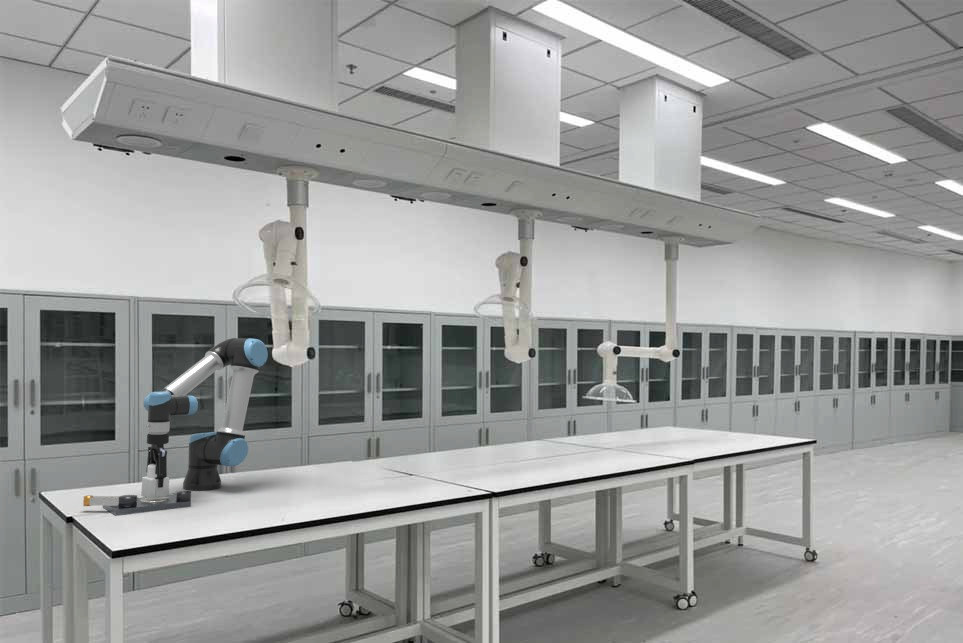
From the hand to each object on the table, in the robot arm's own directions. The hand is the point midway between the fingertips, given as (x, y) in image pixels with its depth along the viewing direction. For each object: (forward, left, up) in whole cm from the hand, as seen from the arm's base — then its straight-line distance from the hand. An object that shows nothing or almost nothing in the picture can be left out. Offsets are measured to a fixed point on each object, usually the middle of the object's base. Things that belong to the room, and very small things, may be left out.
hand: (155, 494), depth 269 cm
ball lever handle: (+16, +1, -2) cm, 16 cm away
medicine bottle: (0, 0, -1) cm, 1 cm away
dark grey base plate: (+3, +1, -4) cm, 5 cm away
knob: (-8, +6, -2) cm, 10 cm away
